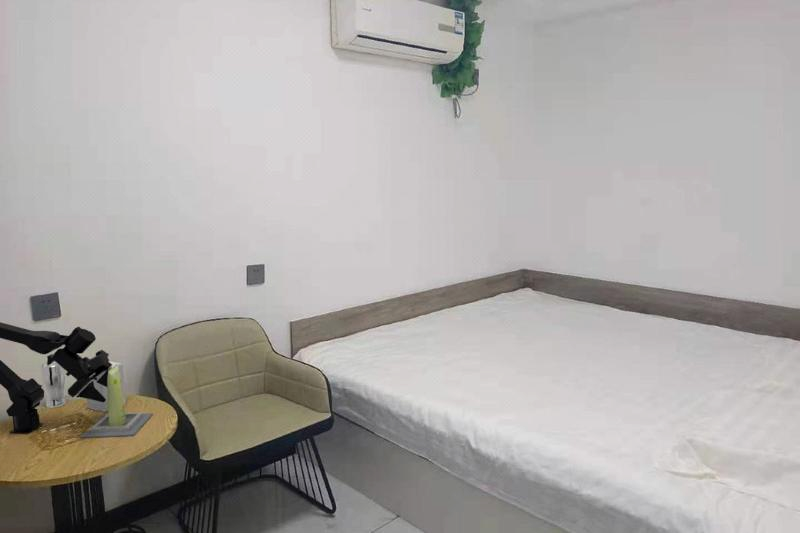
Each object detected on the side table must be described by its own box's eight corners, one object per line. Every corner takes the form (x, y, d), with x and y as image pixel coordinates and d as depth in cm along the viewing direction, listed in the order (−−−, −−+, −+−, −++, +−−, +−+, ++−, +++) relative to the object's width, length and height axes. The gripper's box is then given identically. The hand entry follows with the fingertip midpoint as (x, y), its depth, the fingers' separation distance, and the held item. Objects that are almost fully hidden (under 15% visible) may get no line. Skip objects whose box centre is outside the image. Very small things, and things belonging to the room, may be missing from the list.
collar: (91, 433, 171) (90, 428, 171) (108, 417, 182) (107, 413, 182) (128, 431, 172) (128, 427, 172) (143, 416, 183) (142, 412, 183)
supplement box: (127, 403, 196) (123, 363, 193) (104, 412, 188) (100, 370, 185) (109, 399, 199) (105, 359, 197) (86, 408, 191) (82, 367, 189)
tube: (129, 424, 177) (124, 366, 174) (113, 429, 173) (108, 370, 170) (122, 419, 181) (117, 362, 178) (106, 424, 177) (100, 366, 174)
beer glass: (40, 407, 192) (35, 366, 190) (55, 400, 199) (51, 360, 196) (57, 409, 191) (53, 367, 189) (72, 401, 198) (68, 361, 195)
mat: (80, 438, 169) (80, 436, 169) (104, 416, 185) (104, 414, 184) (133, 436, 170) (133, 434, 170) (152, 414, 186) (152, 413, 186)
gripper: (74, 354, 163) (115, 389, 166) (103, 337, 182) (140, 368, 184) (49, 380, 164) (91, 414, 167) (81, 360, 183) (117, 391, 185)
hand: (111, 395), depth 176 cm, fingers open, 9 cm apart
